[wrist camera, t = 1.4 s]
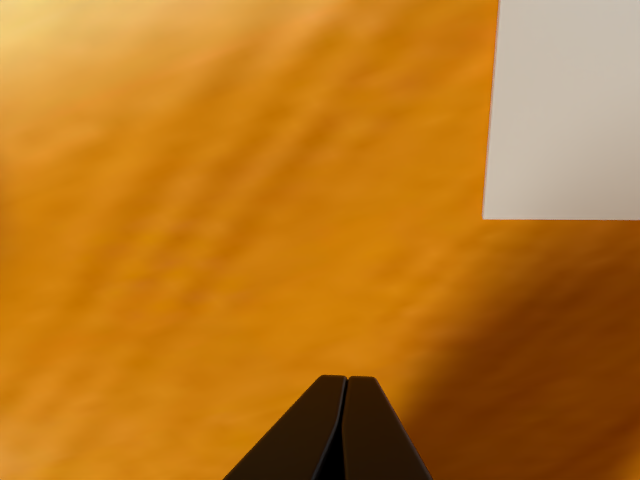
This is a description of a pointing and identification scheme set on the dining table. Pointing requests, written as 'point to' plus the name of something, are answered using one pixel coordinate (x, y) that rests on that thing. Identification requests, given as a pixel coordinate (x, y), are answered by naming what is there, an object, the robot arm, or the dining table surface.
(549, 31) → the card
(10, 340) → the dining table surface
